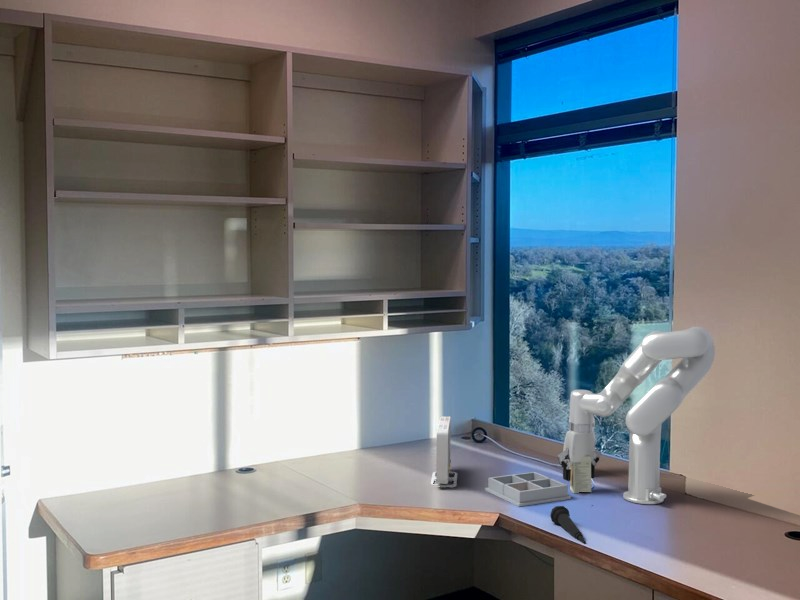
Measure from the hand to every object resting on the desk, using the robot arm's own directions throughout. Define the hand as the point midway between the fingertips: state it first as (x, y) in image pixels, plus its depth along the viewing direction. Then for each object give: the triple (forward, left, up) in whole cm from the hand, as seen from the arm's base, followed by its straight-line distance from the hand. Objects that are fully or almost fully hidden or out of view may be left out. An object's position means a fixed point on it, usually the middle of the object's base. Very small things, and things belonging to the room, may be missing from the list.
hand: (578, 478), depth 276 cm
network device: (+31, +34, -4) cm, 46 cm away
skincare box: (0, 0, -4) cm, 4 cm away
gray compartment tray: (+4, +18, -4) cm, 18 cm away
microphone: (-31, +28, -5) cm, 42 cm away
